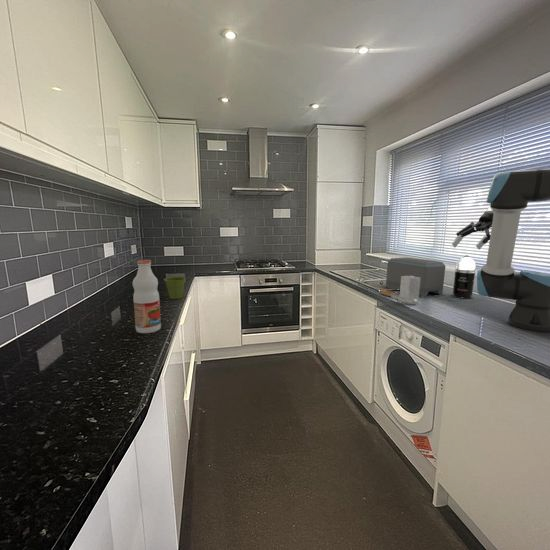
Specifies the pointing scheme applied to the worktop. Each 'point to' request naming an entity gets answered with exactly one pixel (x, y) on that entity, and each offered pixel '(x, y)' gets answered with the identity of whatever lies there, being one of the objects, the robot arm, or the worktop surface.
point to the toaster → (416, 274)
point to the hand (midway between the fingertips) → (465, 246)
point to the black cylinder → (464, 277)
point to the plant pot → (175, 287)
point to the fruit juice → (146, 299)
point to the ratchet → (392, 294)
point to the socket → (410, 287)
